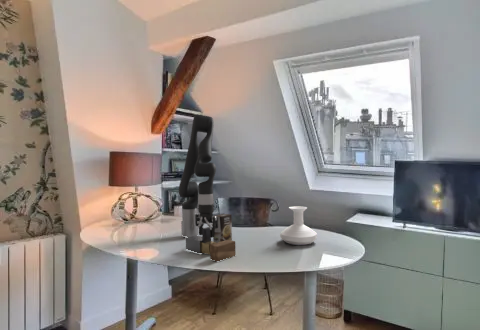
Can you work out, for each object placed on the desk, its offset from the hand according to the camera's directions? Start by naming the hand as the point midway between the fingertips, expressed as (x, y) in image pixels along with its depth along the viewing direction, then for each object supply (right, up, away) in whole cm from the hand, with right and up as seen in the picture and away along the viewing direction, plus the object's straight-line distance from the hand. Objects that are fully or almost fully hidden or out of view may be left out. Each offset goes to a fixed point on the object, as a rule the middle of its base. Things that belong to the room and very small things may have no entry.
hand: (206, 236), depth 167 cm
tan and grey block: (-2, -8, +2) cm, 9 cm away
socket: (+8, -9, -7) cm, 14 cm away
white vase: (+49, -8, +19) cm, 53 cm away
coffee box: (+7, -8, +18) cm, 21 cm away
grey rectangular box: (-5, -9, +4) cm, 11 cm away
